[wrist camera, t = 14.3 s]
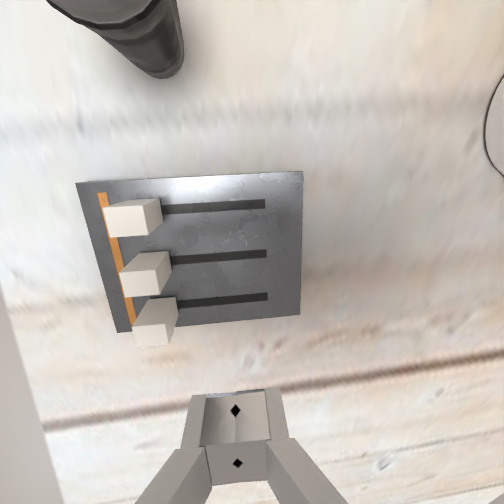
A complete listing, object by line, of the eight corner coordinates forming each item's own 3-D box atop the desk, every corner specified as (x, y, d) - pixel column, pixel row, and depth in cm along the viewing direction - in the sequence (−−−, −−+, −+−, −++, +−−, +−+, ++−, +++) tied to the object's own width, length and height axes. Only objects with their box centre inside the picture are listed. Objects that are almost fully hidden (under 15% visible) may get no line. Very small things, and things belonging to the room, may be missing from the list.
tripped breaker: (175, 296, 27) (164, 323, 22) (178, 315, 28) (168, 344, 23) (148, 299, 27) (131, 327, 22) (152, 317, 28) (136, 348, 23)
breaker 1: (159, 198, 23) (142, 205, 19) (163, 222, 24) (148, 234, 20) (127, 199, 23) (102, 207, 19) (132, 224, 24) (109, 237, 19)
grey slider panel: (297, 171, 26) (303, 171, 24) (295, 306, 32) (300, 315, 30) (86, 181, 24) (74, 183, 22) (124, 322, 30) (116, 333, 28)
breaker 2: (168, 251, 25) (155, 269, 21) (171, 271, 26) (159, 294, 21) (139, 253, 25) (118, 272, 20) (143, 274, 26) (125, 297, 21)
